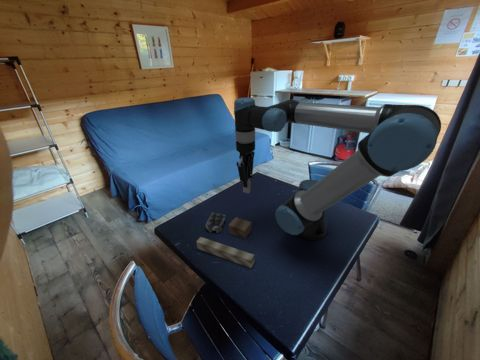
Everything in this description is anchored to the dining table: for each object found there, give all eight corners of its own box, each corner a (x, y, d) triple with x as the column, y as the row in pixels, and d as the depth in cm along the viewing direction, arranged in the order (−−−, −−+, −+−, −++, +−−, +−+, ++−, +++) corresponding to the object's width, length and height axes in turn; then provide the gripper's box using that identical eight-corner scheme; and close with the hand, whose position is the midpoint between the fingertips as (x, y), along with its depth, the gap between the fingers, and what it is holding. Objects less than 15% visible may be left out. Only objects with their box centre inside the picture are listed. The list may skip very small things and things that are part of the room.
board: (254, 262, 86) (254, 254, 84) (251, 268, 83) (251, 260, 82) (201, 243, 95) (200, 236, 93) (197, 248, 93) (196, 241, 91)
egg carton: (220, 234, 100) (220, 227, 98) (204, 232, 102) (203, 225, 100) (227, 219, 109) (226, 212, 107) (212, 217, 111) (211, 210, 109)
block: (251, 231, 101) (251, 222, 99) (245, 239, 97) (244, 230, 94) (236, 225, 105) (235, 217, 102) (229, 233, 100) (228, 224, 98)
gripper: (243, 134, 94) (245, 183, 105) (228, 145, 83) (232, 198, 95) (260, 136, 91) (260, 186, 103) (247, 147, 80) (248, 202, 92)
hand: (246, 191), depth 99 cm, fingers closed
